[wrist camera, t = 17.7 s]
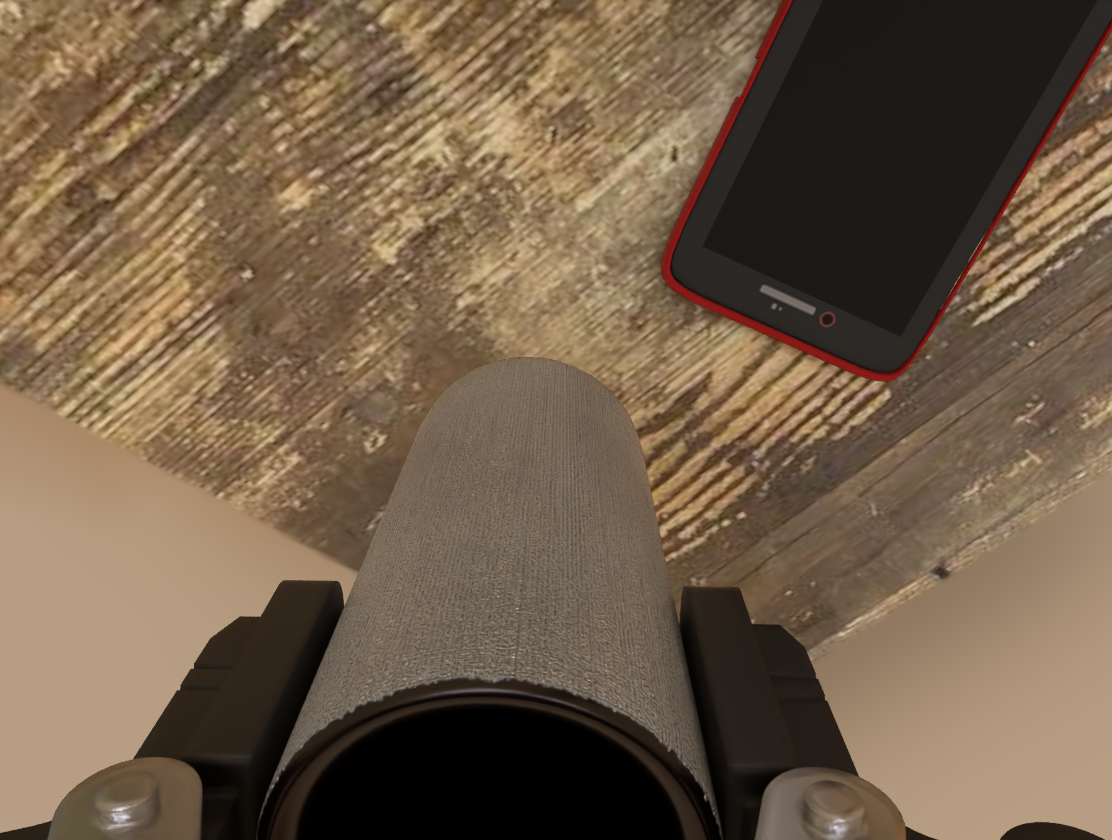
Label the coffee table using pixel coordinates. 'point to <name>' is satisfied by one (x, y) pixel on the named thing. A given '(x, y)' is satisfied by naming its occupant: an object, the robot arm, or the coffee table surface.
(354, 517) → the coffee table surface
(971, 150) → the cell phone
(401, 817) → the planter
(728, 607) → the robot arm
